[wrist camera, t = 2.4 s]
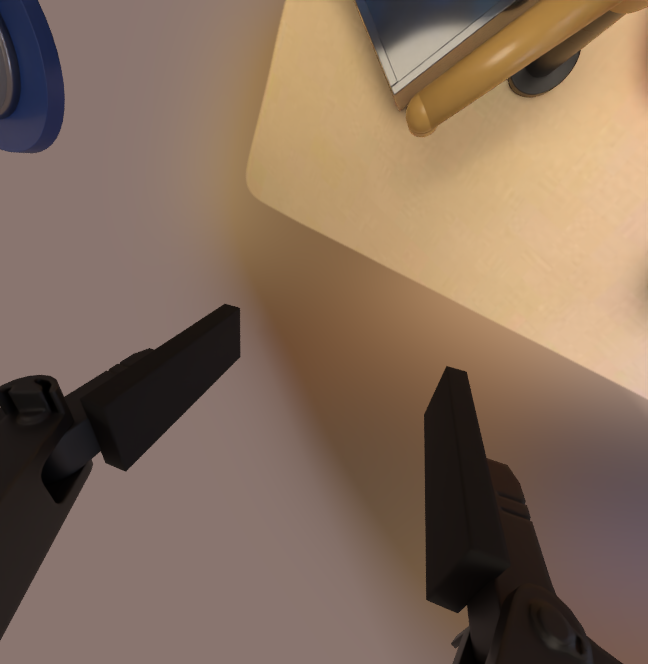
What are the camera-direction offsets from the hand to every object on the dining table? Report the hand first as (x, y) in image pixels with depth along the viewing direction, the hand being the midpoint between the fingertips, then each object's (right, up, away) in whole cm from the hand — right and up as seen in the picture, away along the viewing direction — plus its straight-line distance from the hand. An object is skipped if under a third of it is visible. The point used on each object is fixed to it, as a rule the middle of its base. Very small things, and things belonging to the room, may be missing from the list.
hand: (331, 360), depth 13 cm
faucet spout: (+10, +17, +3) cm, 20 cm away
